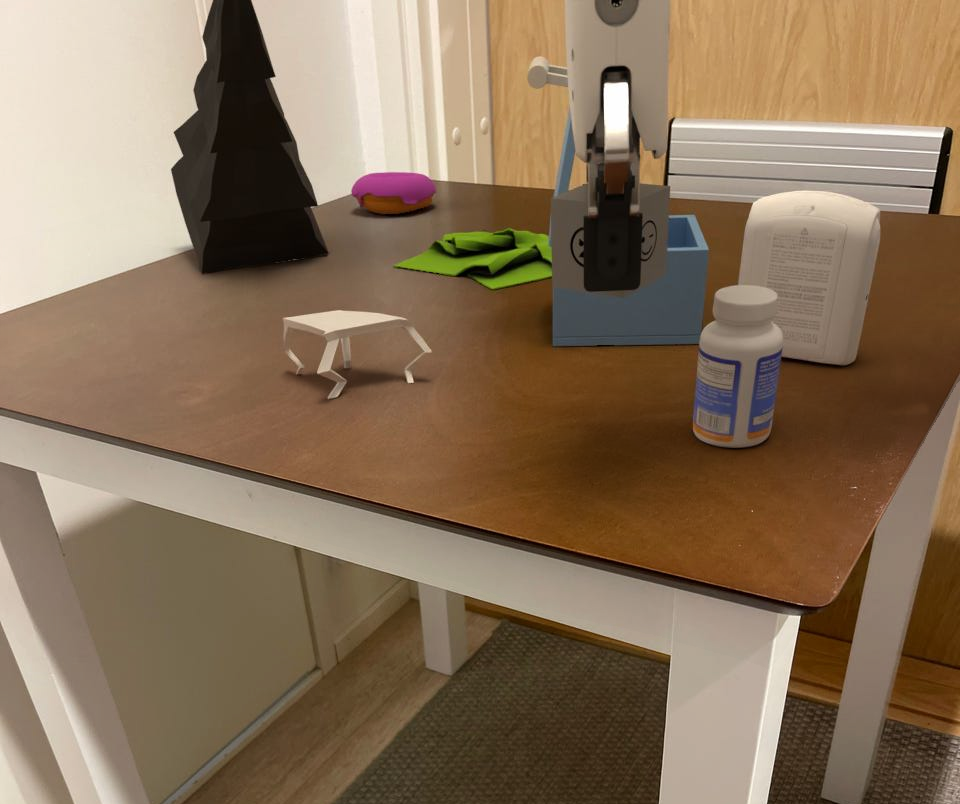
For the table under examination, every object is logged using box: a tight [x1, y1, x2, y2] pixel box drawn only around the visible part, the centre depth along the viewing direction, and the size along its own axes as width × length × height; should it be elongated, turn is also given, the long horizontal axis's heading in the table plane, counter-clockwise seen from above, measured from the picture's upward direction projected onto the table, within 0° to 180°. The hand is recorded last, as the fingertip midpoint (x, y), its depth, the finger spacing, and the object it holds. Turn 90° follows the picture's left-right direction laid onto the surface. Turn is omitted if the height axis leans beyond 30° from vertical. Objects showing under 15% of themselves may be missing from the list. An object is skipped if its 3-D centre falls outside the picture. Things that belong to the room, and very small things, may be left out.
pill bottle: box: [692, 284, 783, 449], centre depth 65 cm, size 5×5×10 cm
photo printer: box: [737, 190, 882, 367], centre depth 76 cm, size 10×4×12 cm, turn 60°
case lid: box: [526, 55, 576, 247], centre depth 80 cm, size 13×12×5 cm
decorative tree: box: [170, 0, 330, 275], centre depth 99 cm, size 15×15×35 cm
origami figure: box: [282, 309, 433, 400], centre depth 78 cm, size 12×8×5 cm
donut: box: [350, 171, 437, 215], centre depth 127 cm, size 10×10×5 cm
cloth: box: [392, 227, 552, 291], centre depth 106 cm, size 20×22×2 cm
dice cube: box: [550, 183, 671, 298], centre depth 57 cm, size 5×5×5 cm
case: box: [552, 214, 710, 347], centre depth 86 cm, size 13×12×8 cm
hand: (609, 267), depth 58 cm, fingers closed on dice cube, 7 cm apart
